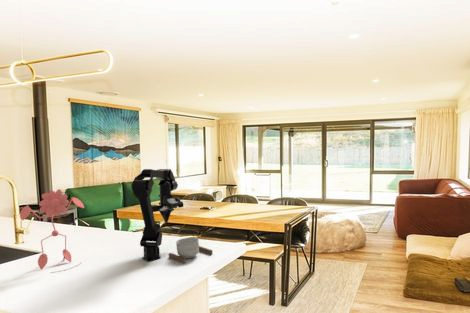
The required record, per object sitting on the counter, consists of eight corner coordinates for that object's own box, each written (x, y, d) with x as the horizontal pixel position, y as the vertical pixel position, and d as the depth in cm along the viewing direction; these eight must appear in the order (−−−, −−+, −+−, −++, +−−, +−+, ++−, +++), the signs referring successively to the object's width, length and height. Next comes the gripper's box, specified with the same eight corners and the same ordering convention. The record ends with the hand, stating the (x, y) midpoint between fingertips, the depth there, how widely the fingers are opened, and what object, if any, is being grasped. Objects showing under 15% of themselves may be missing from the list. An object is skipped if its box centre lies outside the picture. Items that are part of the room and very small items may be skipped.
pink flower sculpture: (20, 269, 152) (17, 191, 150) (81, 256, 170) (78, 185, 168) (28, 280, 141) (24, 195, 139) (92, 264, 158) (90, 188, 156)
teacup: (187, 261, 157) (187, 244, 157) (171, 257, 164) (171, 240, 164) (208, 253, 168) (207, 237, 168) (192, 249, 175) (191, 234, 175)
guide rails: (183, 263, 155) (183, 259, 155) (168, 257, 164) (168, 253, 164) (212, 254, 167) (212, 250, 167) (197, 249, 176) (197, 245, 176)
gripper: (157, 196, 167) (158, 228, 168) (189, 192, 180) (189, 221, 181) (146, 194, 175) (147, 224, 176) (177, 190, 188) (177, 218, 189)
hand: (166, 222), depth 180 cm, fingers closed
